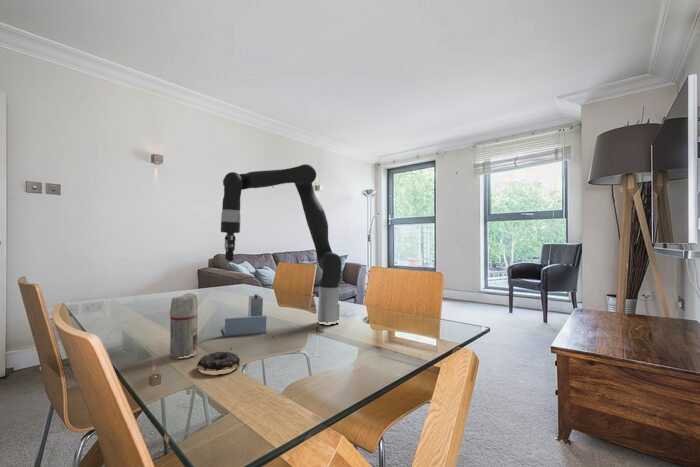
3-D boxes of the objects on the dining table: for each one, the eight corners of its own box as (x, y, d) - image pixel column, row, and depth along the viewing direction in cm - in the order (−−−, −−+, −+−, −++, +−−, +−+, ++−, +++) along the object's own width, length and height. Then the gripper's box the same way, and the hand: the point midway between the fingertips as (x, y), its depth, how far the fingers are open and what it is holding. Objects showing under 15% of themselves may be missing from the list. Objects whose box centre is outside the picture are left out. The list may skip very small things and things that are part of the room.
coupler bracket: (261, 326, 146) (262, 311, 146) (265, 332, 137) (266, 316, 137) (222, 329, 139) (223, 313, 139) (224, 336, 130) (225, 318, 130)
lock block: (259, 321, 154) (260, 292, 155) (261, 325, 148) (263, 295, 148) (247, 322, 152) (249, 293, 153) (250, 326, 146) (251, 295, 146)
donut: (210, 361, 105) (210, 348, 105) (246, 364, 104) (246, 351, 104) (189, 375, 94) (190, 361, 94) (229, 378, 93) (230, 364, 93)
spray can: (185, 361, 103) (188, 297, 103) (162, 358, 105) (165, 295, 105) (202, 352, 111) (205, 293, 112) (181, 350, 113) (184, 291, 113)
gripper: (242, 221, 133) (240, 261, 133) (238, 222, 146) (236, 259, 145) (222, 220, 130) (220, 261, 129) (219, 221, 143) (218, 259, 142)
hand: (229, 260), depth 137 cm, fingers open, 8 cm apart
